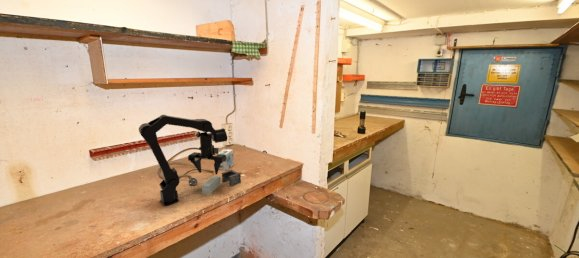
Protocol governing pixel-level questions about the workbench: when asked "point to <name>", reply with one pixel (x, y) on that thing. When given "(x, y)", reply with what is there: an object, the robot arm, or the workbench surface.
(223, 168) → the light bulb box
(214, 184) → the grey rectangular block
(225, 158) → the robot arm
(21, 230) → the workbench surface
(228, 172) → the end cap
